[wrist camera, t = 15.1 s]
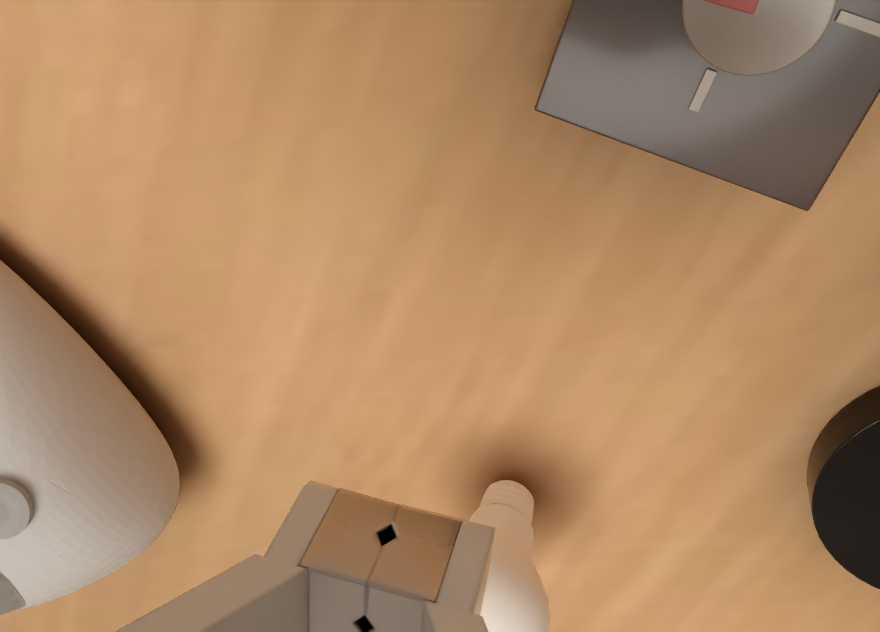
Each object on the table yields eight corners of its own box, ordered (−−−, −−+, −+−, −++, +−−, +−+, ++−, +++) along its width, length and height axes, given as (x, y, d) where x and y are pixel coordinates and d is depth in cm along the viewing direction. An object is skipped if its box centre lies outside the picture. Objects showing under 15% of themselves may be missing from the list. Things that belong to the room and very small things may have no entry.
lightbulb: (587, 463, 40) (554, 654, 31) (556, 548, 43) (517, 743, 34) (465, 425, 41) (398, 600, 31) (444, 512, 44) (377, 693, 35)
